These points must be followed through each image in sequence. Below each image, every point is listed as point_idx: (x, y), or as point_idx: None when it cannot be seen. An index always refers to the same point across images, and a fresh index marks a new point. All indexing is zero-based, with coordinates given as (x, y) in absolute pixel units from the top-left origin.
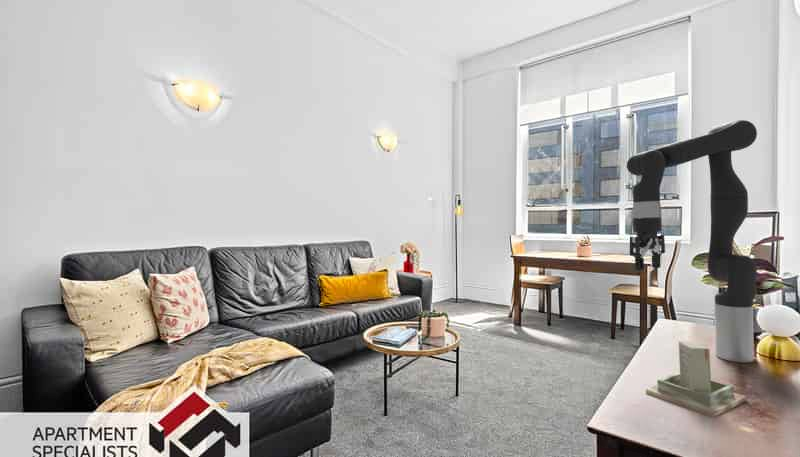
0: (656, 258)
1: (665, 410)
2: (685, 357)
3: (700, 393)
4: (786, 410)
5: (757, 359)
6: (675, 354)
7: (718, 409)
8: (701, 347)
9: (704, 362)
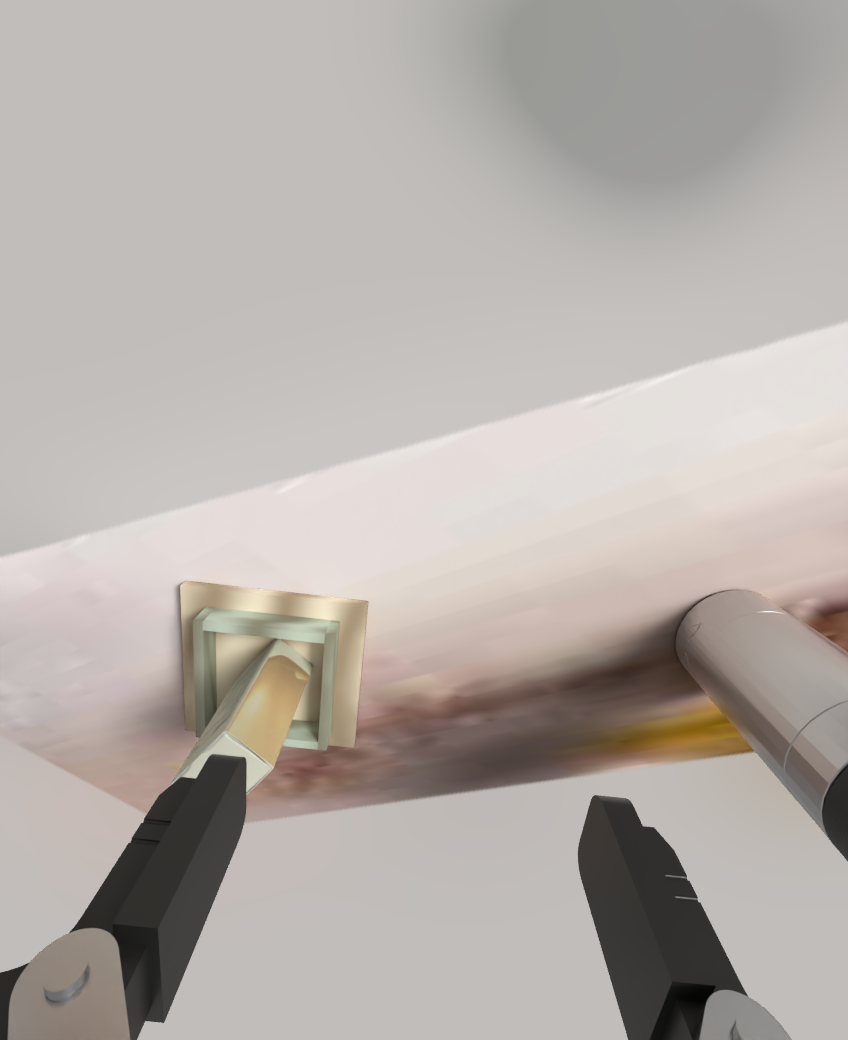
0: (627, 985)
1: (128, 651)
2: (212, 728)
3: (200, 719)
4: (367, 796)
5: None
6: (631, 496)
7: None
8: None
9: None
